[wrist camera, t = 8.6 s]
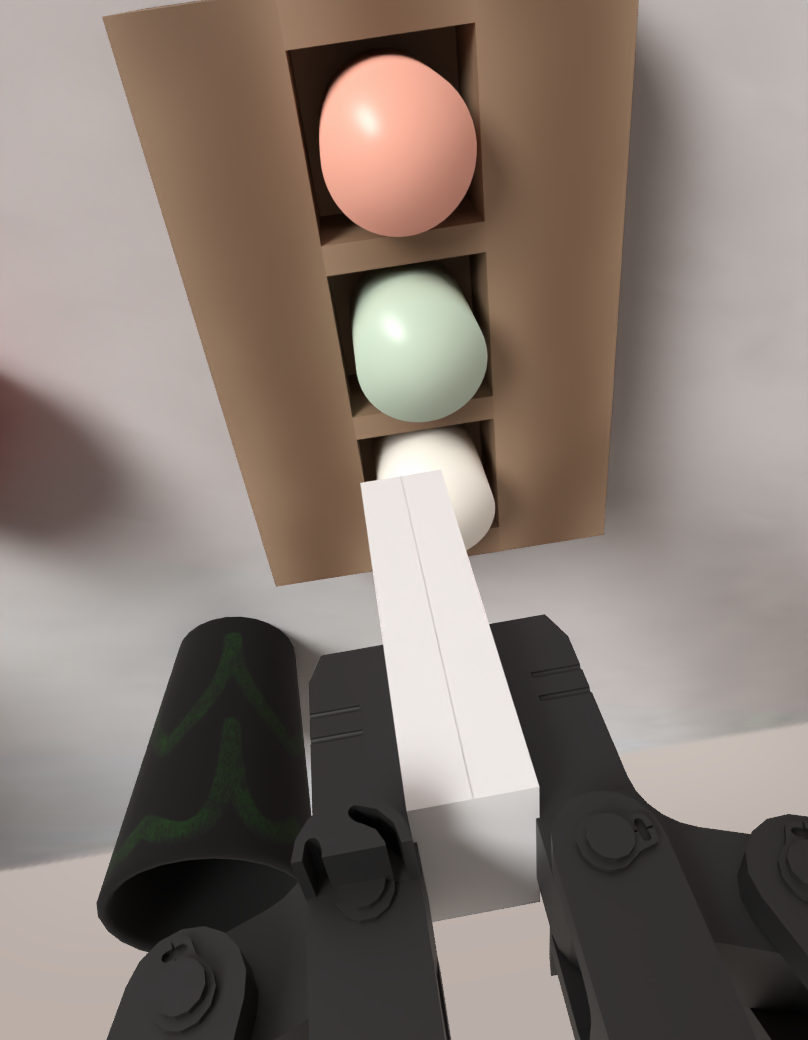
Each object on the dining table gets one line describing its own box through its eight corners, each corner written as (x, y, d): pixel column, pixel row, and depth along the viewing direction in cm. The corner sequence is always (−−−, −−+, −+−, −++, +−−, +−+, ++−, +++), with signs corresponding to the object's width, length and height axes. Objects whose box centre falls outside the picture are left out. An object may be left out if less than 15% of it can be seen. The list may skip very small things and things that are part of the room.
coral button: (331, 206, 21) (335, 247, 18) (306, 59, 19) (305, 76, 15) (454, 187, 21) (480, 225, 18) (444, 38, 19) (472, 51, 16)
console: (280, 506, 30) (276, 586, 26) (143, 9, 20) (102, 16, 16) (564, 461, 30) (603, 534, 26) (576, -56, 20) (642, -63, 16)
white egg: (380, 497, 27) (389, 566, 24) (366, 413, 25) (374, 477, 22) (475, 482, 27) (497, 549, 24) (469, 397, 25) (493, 458, 22)
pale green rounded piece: (358, 370, 24) (366, 431, 21) (340, 261, 22) (345, 310, 19) (466, 354, 24) (490, 411, 21) (458, 243, 22) (484, 289, 19)
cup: (346, 668, 36) (360, 913, 27) (226, 728, 38) (198, 978, 29) (250, 574, 32) (226, 826, 23) (120, 647, 34) (45, 909, 24)
